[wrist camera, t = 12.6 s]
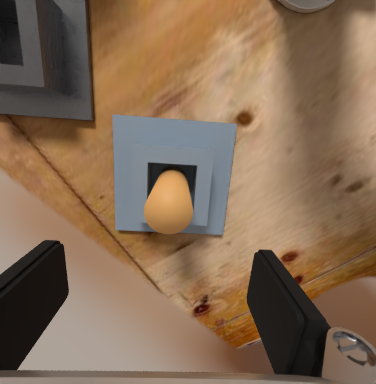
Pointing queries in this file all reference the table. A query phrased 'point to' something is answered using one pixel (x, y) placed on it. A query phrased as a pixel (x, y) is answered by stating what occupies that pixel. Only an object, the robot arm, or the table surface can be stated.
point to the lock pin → (169, 202)
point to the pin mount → (46, 59)
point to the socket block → (172, 156)
